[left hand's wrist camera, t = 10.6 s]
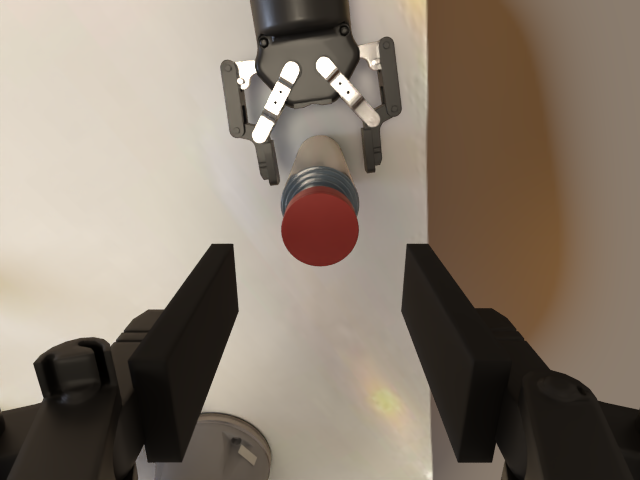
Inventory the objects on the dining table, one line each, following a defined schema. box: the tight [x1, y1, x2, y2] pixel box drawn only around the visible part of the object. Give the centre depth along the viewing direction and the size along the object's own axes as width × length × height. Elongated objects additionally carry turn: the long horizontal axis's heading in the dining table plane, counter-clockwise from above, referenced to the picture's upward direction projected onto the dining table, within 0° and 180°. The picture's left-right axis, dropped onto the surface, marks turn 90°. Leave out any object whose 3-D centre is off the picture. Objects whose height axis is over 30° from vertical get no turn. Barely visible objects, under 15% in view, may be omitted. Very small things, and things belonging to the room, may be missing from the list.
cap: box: [281, 186, 359, 266], centre depth 20 cm, size 4×4×2 cm
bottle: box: [281, 135, 359, 217], centre depth 30 cm, size 5×5×23 cm
